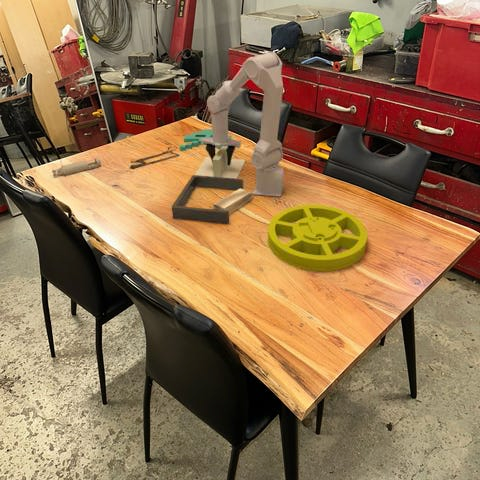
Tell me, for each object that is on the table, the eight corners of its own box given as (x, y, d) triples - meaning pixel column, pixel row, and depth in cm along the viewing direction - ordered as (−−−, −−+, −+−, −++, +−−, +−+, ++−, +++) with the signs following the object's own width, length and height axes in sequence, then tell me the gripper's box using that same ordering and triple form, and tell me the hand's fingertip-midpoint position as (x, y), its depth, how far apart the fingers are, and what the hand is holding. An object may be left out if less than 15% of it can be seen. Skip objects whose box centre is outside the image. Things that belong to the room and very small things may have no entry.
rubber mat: (245, 160, 170) (245, 159, 170) (234, 184, 154) (234, 183, 154) (206, 157, 173) (206, 156, 173) (191, 181, 157) (191, 179, 157)
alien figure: (227, 153, 178) (233, 134, 194) (227, 147, 176) (233, 129, 193) (180, 151, 180) (189, 133, 196) (179, 146, 178) (188, 129, 195)
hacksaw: (131, 170, 166) (130, 167, 165) (120, 161, 173) (120, 158, 172) (186, 154, 177) (186, 151, 176) (174, 146, 184) (174, 143, 183)
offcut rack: (243, 189, 151) (243, 179, 149) (228, 224, 133) (227, 212, 131) (193, 185, 155) (192, 174, 152) (172, 218, 137) (171, 207, 135)
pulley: (363, 220, 134) (366, 206, 131) (366, 278, 112) (369, 262, 109) (274, 212, 139) (275, 198, 136) (260, 265, 117) (260, 250, 114)
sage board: (229, 163, 167) (228, 146, 163) (220, 177, 158) (219, 160, 154) (222, 163, 168) (222, 146, 164) (213, 177, 158) (212, 159, 154)
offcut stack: (254, 199, 146) (254, 190, 144) (223, 219, 136) (223, 210, 134) (241, 194, 149) (241, 185, 147) (210, 214, 139) (209, 204, 137)
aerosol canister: (99, 163, 171) (96, 148, 167) (103, 167, 168) (99, 152, 164) (52, 175, 164) (47, 159, 160) (55, 180, 160) (50, 163, 156)
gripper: (197, 131, 152) (199, 166, 160) (236, 134, 149) (237, 170, 157) (203, 124, 158) (205, 158, 166) (241, 127, 155) (242, 162, 163)
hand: (221, 163), depth 162 cm, fingers open, 5 cm apart
